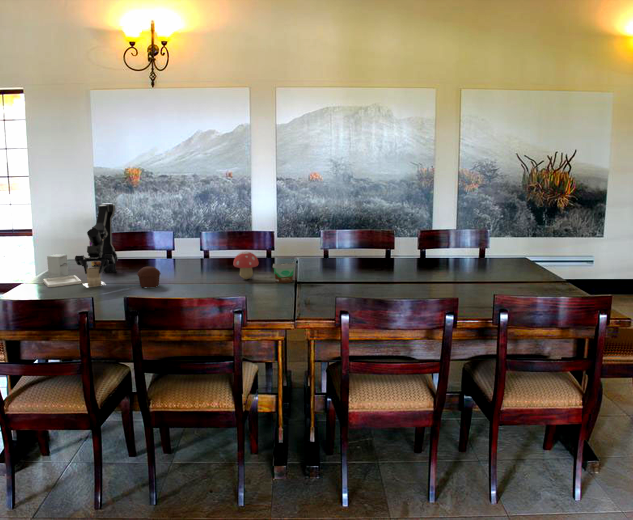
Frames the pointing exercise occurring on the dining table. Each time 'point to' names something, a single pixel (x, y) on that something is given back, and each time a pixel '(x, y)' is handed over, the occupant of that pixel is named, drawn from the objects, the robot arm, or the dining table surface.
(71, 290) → the dining table surface
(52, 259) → the supplement box
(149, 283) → the muffin
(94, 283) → the wooden pen holder
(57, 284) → the plastic tray
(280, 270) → the food container
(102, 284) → the white square pedestal
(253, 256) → the decorative mushroom
